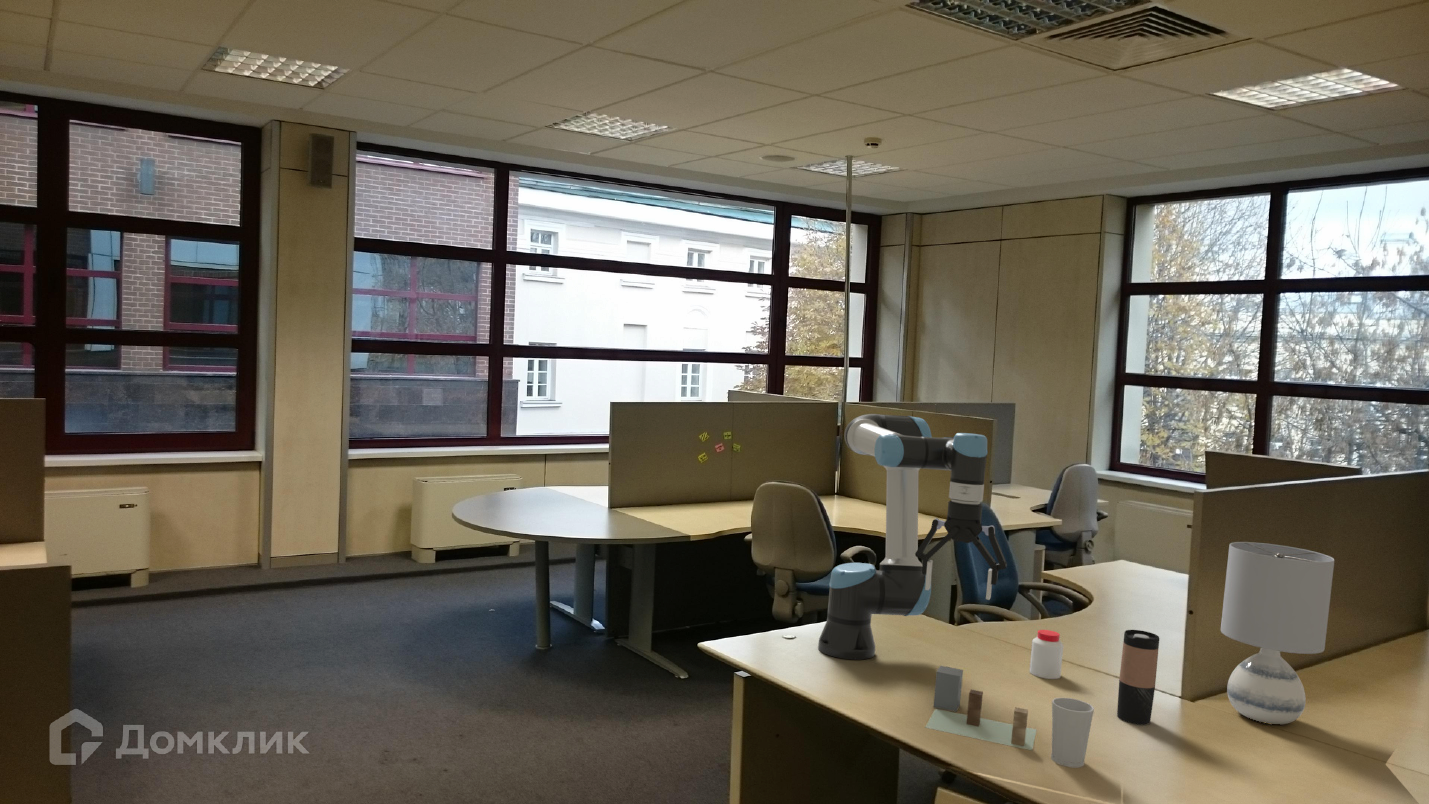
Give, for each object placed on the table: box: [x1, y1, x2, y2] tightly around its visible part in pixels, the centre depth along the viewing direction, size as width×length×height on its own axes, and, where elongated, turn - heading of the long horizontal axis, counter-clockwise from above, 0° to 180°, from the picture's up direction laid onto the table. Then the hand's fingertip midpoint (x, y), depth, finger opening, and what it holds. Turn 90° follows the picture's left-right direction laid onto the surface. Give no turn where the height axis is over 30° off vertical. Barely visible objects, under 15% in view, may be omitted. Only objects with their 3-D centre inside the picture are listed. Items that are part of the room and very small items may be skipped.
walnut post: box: [966, 689, 984, 727], centre depth 215 cm, size 3×3×7 cm
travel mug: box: [1116, 629, 1160, 726], centre depth 226 cm, size 8×8×20 cm
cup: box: [1050, 697, 1095, 768], centre depth 198 cm, size 8×8×12 cm
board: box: [924, 708, 1037, 751], centre depth 212 cm, size 22×13×1 cm, turn 68°
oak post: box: [1011, 706, 1029, 746], centre depth 205 cm, size 3×3×7 cm
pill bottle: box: [1028, 629, 1064, 680], centre depth 256 cm, size 8×8×11 cm
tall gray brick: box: [933, 665, 964, 713], centre depth 225 cm, size 5×5×9 cm
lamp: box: [1220, 541, 1335, 725], centre depth 233 cm, size 22×22×40 cm
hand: (957, 593), depth 223 cm, fingers open, 13 cm apart
